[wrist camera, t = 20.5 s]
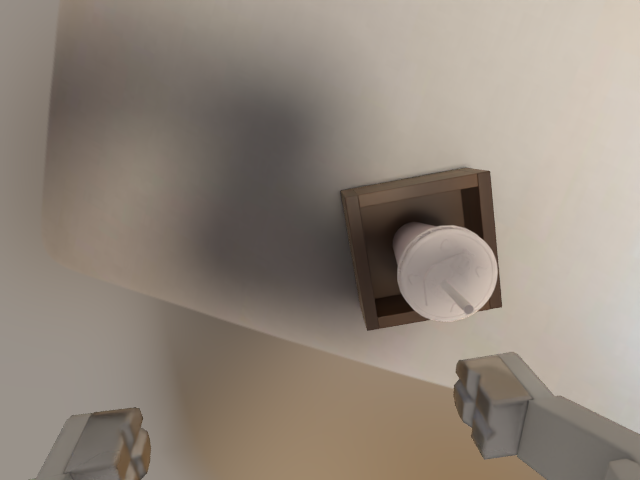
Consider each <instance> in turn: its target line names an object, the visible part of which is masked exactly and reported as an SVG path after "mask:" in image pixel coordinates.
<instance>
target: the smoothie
mask: <svg viewBox="0 0 640 480" xmlns="http://www.w3.org/2000/svg"><path fill="white" fill-rule="evenodd" d="M393 250H394V254H395V257H396V261H397V265H398V268H397V281H398V285H399V289H400V292H401V294H402V295H403V297H404V299H405V300H406V302H407V303H408V304H409V305H410V306H411V307H412V309H414V310H415V311H416V312H417V313H418V314H420V315H421V316H423V317H425V318H428V319H430V320H434V321H439V322H452V321H458V320H461V319H464V318H466V317H469V316H471V315H472V314H474V313H475V312H477V311H478V310H479V309H481V308H482V307H483V306H484V305H485V304H486V302H487V301H488V300H489V298H490V297H491V295H492V293H493V291H494V288H495V286H496V282H497V275H498V268H497V262H496V259H495V256H494V254H493V251H492V250H491V248H490V247H489V246H488V244H487V243H486V242H485V241H484V240H483V239H481V238H480V237H479V236H478V235H477V234H475V233H474V232H472V231H470V230H468V229H466V228H463V227H458V226H454V225H448V226H438V227H437V226H433V225H428V224H423V223H419V222H411V223H407V224H405V225H403V226H402V227H400V228H399V229H398V230H397V232H396V233H395V235H394V238H393Z"/></svg>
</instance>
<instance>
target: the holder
mask: <svg viewBox="0 0 640 480" xmlns="http://www.w3.org/2000/svg"><path fill="white" fill-rule="evenodd" d="M341 196H342V202H343V208H344V214H345V220H346V226H347V232H348V237H349V243H350V249H351V255H352V261H353V267H354V273H355V278H356V284H357V290H358V296H359V302H360V307H361V311H362V314H363V318H364V321H365V325H366V328H367V331H368V330H374V329H379V328H386V327H392V326H397V325H403V324H409V323H414V322H420V321H426V320H430V319H428V318H425V317H423V316H421V315H420V314H418V313H417V312H416V311H415V310H414V309H412V307H411V306H410V305H409V304H408V303H407V302H406V300H405V299H404V297H403V295H402V294H401V292H400V289H399V285H398V281H397V268H398V265H397V261H396V257H395V254H394V250H393V238H394V235H395V233H396V232H397V230H398V229H399V228H400V227H402V226H403V225H405V224H407V223H411V222H419V223H423V224H428V225H433V226H437V227H438V226H448V225H454V226H458V227H463V228H466V229H468V230H470V231H472V232H474V233H475V234H477V235H478V236H479V237H480V238H481V239H483V240H484V241H485V242H486V243H487V244H488V246H489V247H490V248H491V250H492V251H493V254H494V256H495V259H496V262H497V268H498V275H497V282H496V286H495V288H494V291H493V293H492V295H491V297H490V298H489V300H488V301H487V302H486V304H485V305H484V306H483V307H482V308H481V309H479V310H478V311H483V310H489V309H493V308H499V307H502V300H501V289H500V278H499V266H498V255H497V244H496V233H495V222H494V210H493V199H492V188H491V177H490V171H486V170H479V169H471V168H461V169H456V170H450V171H445V172H439V173H434V174H429V175H423V176H418V177H412V178H407V179H401V180H396V181H390V182H385V183H380V184H374V185H369V186H363V187H358V188H352V189H347V190H341Z"/></svg>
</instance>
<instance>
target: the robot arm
mask: <svg viewBox="0 0 640 480" xmlns="http://www.w3.org/2000/svg"><path fill="white" fill-rule="evenodd" d="M456 374H457V375H458V377H459V378H460V379H459V380H458V381H457V382H456V384H455V385H454V400H455V406H456V408H457V411H458V414H459V416H460V418H461V419H462V421H463V422H464V423H465V424H467V425H468V426H470V427H471V428H472V434H471V437H472V439H473V441H474V443H475V444H476V446H477V448H478V450H479V451H480V453H481V455H482V457H483V458H484V459H491V458H499V457H506V456H512V455H517V457H518V458H519V459H521V460H522V461H523V462H525V463H526V464H527V465H528V466H530V467H531V468H532V469H534V470H535V471H536V472H538V473H539V474H540V475H541V476H543V477H544V478H545V479H547V480H640V434H638V433H636V432H634V431H632V430H630V429H628V428H625V427H623V426H621V425H619V424H617V423H615V422H613V421H611V420H609V419H607V418H605V417H603V416H601V415H599V414H597V413H595V412H593V411H591V410H589V409H587V408H585V407H583V406H581V405H579V404H577V403H575V402H573V401H571V400H569V399H566V398H564V397H562V396H554V395H553V394H552V392H551V391H550V390H549V389H548V388H547V387H546V386H545V384H544V383H543V382H542V381H541V380H540V379H539V378H538V377H537V375H536V374H535V373H534V372H533V371H532V370H531V369H530V368H529V366H528V365H527V364H526V363H525V362H524V361H523V360H522V358H521V357H520V356H519V355H518V354H516V353H514V352H509V353H503V354H496V355H491V356H484V357H478V358H471V359H465V360H459V361H458V363H457V365H456ZM142 420H143V417H142V414H141V411H140V409H139V408H136V407H134V408H127V409H118V410H110V411H101V412H94V413H90V414H81V415H72V416H71V417H70V418H69V419H68V420H67V421H66V422H65V424H64V426H63V428H62V430H61V432H60V434H59V436H58V437H57V439H56V441H55V443H54V445H53V447H52V449H51V451H50V453H49V455H48V457H47V459H46V461H45V462H44V464H43V466H42V468H41V470H40V472H39V474H38V476H37V478H35V479H29V480H141V479H142V478H143V477H144V476H145V475H146V474H147V471H148V467H149V463H150V453H151V446H150V438H149V435H148V432H147V431H146V430H144V429H143V428H141V423H142Z"/></svg>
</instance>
